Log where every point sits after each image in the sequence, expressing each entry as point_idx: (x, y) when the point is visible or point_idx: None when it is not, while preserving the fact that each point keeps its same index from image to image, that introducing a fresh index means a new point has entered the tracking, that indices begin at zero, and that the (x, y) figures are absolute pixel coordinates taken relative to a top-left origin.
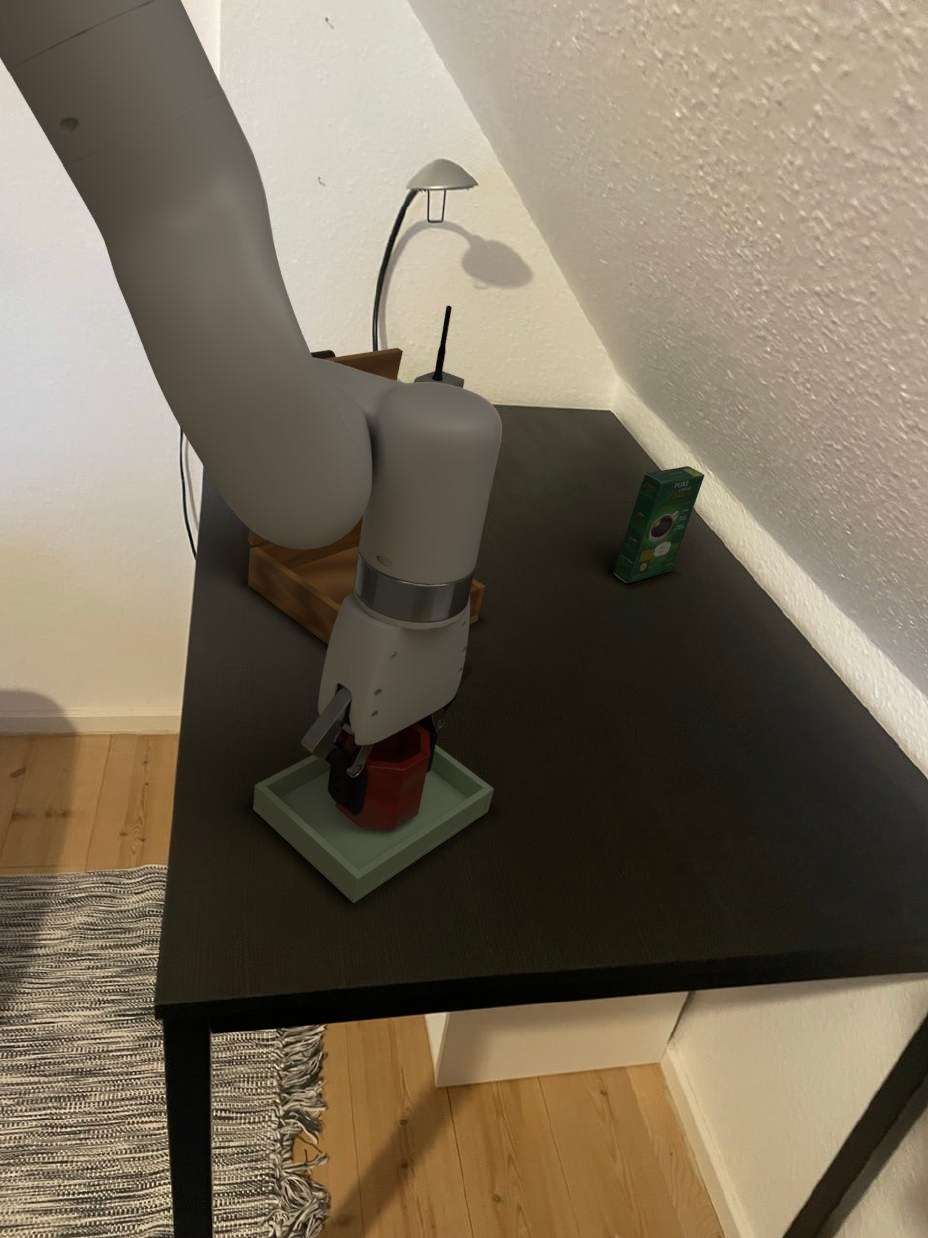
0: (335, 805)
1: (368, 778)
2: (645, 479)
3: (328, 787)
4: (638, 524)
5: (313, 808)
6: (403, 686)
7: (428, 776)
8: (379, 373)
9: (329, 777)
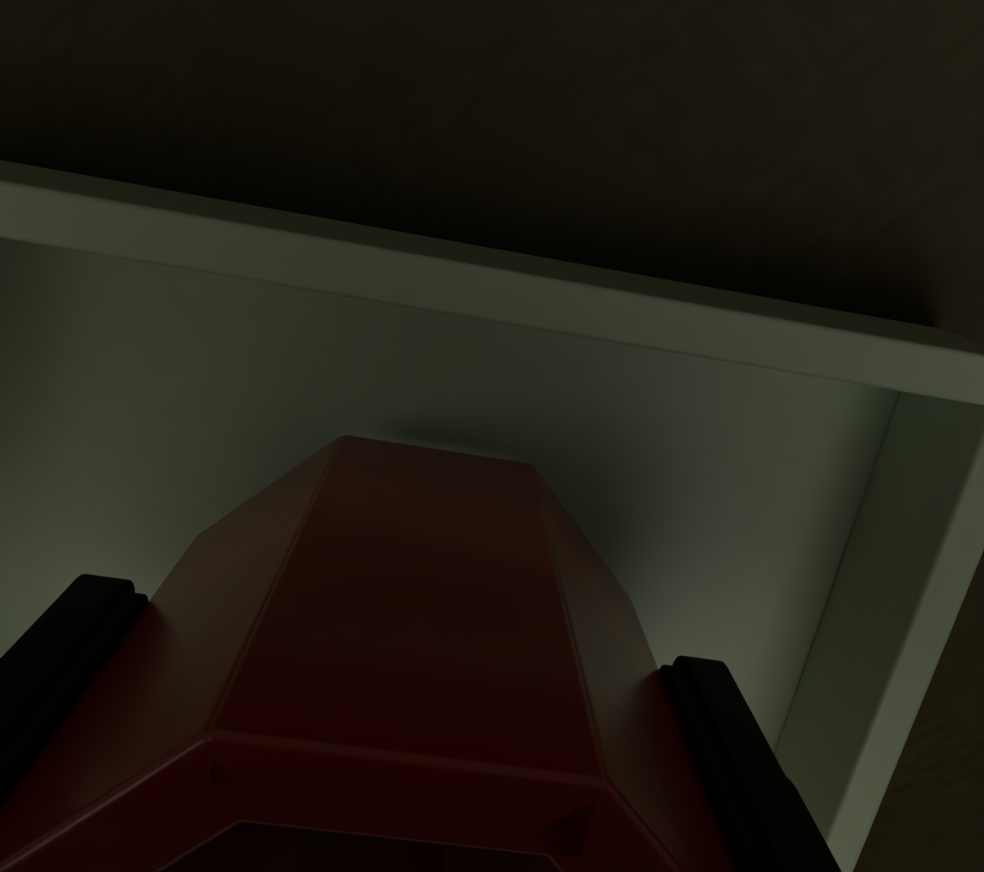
0: (198, 535)
1: None
2: None
3: (72, 587)
4: None
5: (157, 414)
6: None
7: (751, 671)
8: None
9: (28, 633)
